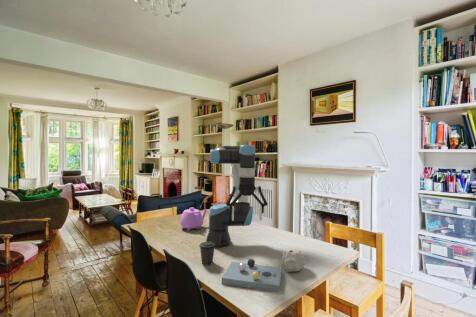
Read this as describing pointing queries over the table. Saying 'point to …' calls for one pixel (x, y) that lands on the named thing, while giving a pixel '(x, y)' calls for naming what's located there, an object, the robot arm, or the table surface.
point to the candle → (293, 260)
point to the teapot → (192, 218)
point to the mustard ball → (255, 275)
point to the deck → (266, 280)
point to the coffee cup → (207, 252)
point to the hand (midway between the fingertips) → (246, 219)
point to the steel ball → (242, 267)
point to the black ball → (250, 262)
